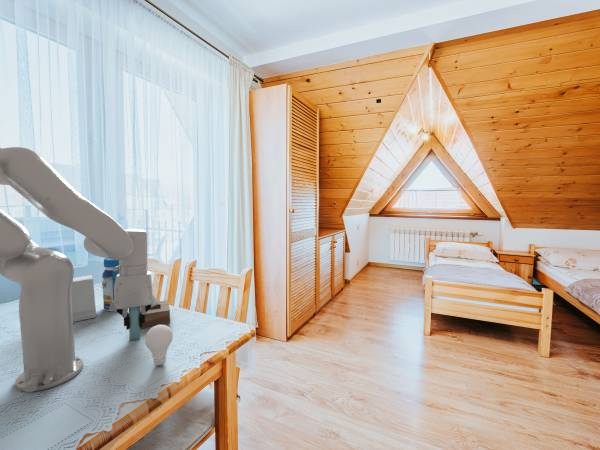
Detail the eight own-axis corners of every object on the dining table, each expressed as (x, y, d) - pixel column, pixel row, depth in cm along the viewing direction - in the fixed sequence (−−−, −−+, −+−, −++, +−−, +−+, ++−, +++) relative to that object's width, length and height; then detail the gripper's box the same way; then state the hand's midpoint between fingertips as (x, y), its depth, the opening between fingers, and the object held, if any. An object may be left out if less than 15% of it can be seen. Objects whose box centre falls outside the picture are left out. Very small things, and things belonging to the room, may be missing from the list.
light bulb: (166, 355, 80) (165, 318, 79) (178, 364, 76) (177, 325, 75) (141, 365, 75) (140, 326, 74) (152, 376, 71) (151, 334, 70)
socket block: (170, 323, 99) (169, 310, 99) (137, 329, 95) (136, 315, 94) (168, 313, 108) (168, 300, 108) (138, 317, 103) (137, 304, 103)
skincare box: (95, 312, 107) (93, 274, 105) (96, 318, 102) (94, 278, 101) (66, 318, 102) (64, 277, 100) (66, 324, 97) (63, 282, 95)
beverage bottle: (126, 310, 109) (124, 259, 107) (100, 313, 106) (97, 261, 104) (130, 302, 117) (128, 255, 115) (106, 304, 114) (104, 256, 112)
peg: (140, 338, 88) (139, 301, 87) (129, 340, 87) (128, 302, 86) (140, 334, 91) (139, 298, 90) (129, 336, 89) (128, 299, 88)
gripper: (99, 274, 80) (101, 337, 81) (163, 269, 87) (164, 327, 89) (103, 268, 86) (104, 326, 88) (162, 264, 94) (163, 317, 96)
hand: (134, 326), depth 88 cm, fingers closed on peg, 3 cm apart
